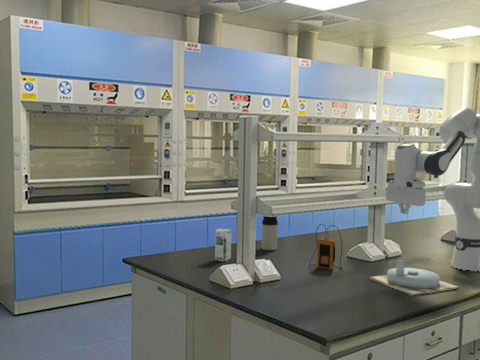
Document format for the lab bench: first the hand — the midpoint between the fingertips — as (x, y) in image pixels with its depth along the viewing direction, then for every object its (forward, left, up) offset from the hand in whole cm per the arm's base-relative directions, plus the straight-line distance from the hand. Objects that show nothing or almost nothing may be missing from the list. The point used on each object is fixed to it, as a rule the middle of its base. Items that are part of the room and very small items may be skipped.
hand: (404, 213), depth 219 cm
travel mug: (+32, -63, -27) cm, 75 cm away
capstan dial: (+8, +14, -25) cm, 30 cm away
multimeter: (+24, -22, -27) cm, 42 cm away
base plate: (+8, +14, -26) cm, 31 cm away
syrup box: (+64, -50, -27) cm, 85 cm away
